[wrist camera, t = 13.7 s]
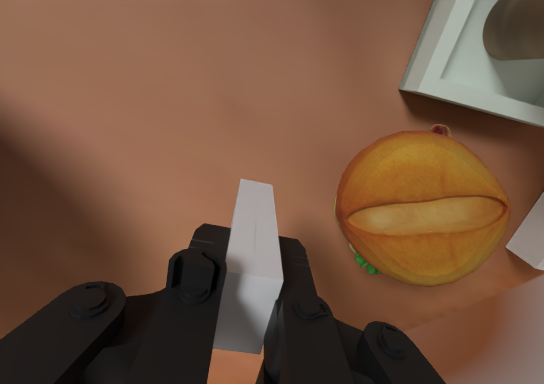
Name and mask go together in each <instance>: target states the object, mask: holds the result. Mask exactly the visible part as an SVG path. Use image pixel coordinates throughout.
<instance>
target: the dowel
mask: <svg viewBox="0 0 544 384" xmlns="http://www.w3.org/2000/svg"><path fill="white" fill-rule="evenodd" d="M482 36H483V44H484V47H485V49H486V51H487V53H488V54H489V55H490V56H491V57H493V58H495V59H497V60H504V61H506V60H527V59H544V0H498V1H497V2H496V3H495V5H494V6H493V7H492V9H491V10H490V12H489V14H488V16H487V18H486V20H485V24H484V27H483V35H482Z"/></svg>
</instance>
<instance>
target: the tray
mask: <svg viewBox="0 0 544 384" xmlns="http://www.w3.org/2000/svg"><path fill="white" fill-rule="evenodd" d="M497 1H498V0H434V1H433V4H432V6H431V9H430V11H429V14H428V16H427V19H426V21H425V24H424V26H423V29H422V31H421V34H420V36H419V39H418V41H417V44H416V46H415V49H414V51H413V54H412V56H411V59H410V61H409V64H408V66H407V69H406V71H405V74H404V76H403V79H402V82H401V84H400V87H399V89H400V90H404V91H407V92H411V93H415V94H418V95H422V96H426V97H429V98H433V99H437V100H440V101H444V102H448V103H451V104H455V105H459V106H462V107H466V108H470V109H473V110H477V111H481V112H484V113H488V114H492V115H495V116H499V117H503V118H506V119H510V120H514V121H517V122H521V123H525V124H528V125H534V126H539V127H544V59H527V60H506V61H504V60H497V59H495V58H493V57H491V56H490V55H489V54H488V53H487V51H486V49H485V47H484V44H483V36H482V35H483V27H484V24H485V20H486V18H487V16H488V14H489V12H490V10H491V9H492V7H493V6H494V5H495V3H496V2H497Z"/></svg>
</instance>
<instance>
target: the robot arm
mask: <svg viewBox="0 0 544 384" xmlns="http://www.w3.org/2000/svg"><path fill="white" fill-rule="evenodd" d="M263 343H264V359H263V362H262V365H261V368H260V371H259V374H258V377H257V380H256V383H255V384H446V383H445V382H444V381H443V379H442V378H441V377H440V376H439V374H438V373H437V372H436V371H435V369H434V368H433V367H432V365H431V364H430V363H429V362H428V361H427V359H426V358H425V357H424V355H422V353H421V352H420V351H419V349H418V348H417V347H416V345H415V344H414V343H413V342H412V341H411V340H410V339H409V338H408V337H407V336H406V335H405V334H404V333H403V332H402V331H400V330H399V329H397V328H396V327H394V326H392V325H390V324H387V323H385V322H378V321H374V322H371V323H368V325H367V326H366V328H365V329H364V331H362V330H359V329H357V328H354V327H352V326H350V325H347V324H345V323H343V322H341V321H339V320H337V319H335V318H334V317H333V314H332V312H331V310H330V308H329V306H328V304H327V303H326V302H325V301H324V300H323V299H322V298H320V297H318V296H317V293H316V289H315V285H314V281H313V277H312V274H311V270H310V267H309V262H308V259H307V255H306V251H305V248H304V247H303V246H302V244H301V243H300V242H299V241H298V240H297V239H292V238H287V237H282V236H278V230H277V222H276V213H275V205H274V196H273V188H272V185H269V184H265V183H260V182H255V181H250V180H245V179H241V181H240V186H239V190H238V195H237V200H236V205H235V209H234V214H233V219H232V224H231V228H227V227H222V226H216V225H211V224H206V223H204V224H203V225H201V226H200V227H199V228H197V229H196V230H195V233H194V235H193V237H192V240H191V242H190V245H189V248H188V249H184V250H181V251H179V252H177V253H175V254H174V255H173V256H172V257H171V259H170V260H169V265H168V274H167V283H166V288H164V289H162V290H160V291H158V292H155V293H151V294H146V295H138V296H128V297H126V295H125V293H124V292H123V290H122V288H120V287H118V286H117V285H115V284H113V283H108V282H102V281H100V282H88V283H85V284H81V285H78V286H75V287H73V288H71V289H69V290H67V291H66V292H64V293H62V294H61V295H59V296H58V297H57V298H55V299H54V300H53V301H51V302H50V303H49V304H47V305H46V306H45V307H43V308H42V309H41V310H39V311H38V312H37V313H35V314H34V315H33V316H31V317H30V318H29V319H27V320H26V321H25V322H23V323H22V324H21V325H19V326H18V327H17V328H15V329H14V330H13V331H11V332H10V333H9V334H7V335H6V336H5V337H3V338H2V339H1V340H0V384H207V379H208V373H209V367H210V361H211V355H212V349H221V350H229V351H237V352H245V353H253V354H260V352H261V349H262V346H263Z"/></svg>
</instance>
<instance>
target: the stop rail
mask: <svg viewBox="0 0 544 384" xmlns="http://www.w3.org/2000/svg"><path fill="white" fill-rule="evenodd" d="M505 247H506V248H507V249H509V250H510V251H512V252H513V253H514V254H516V255H517V256H518V257H520V258H521V259H523V260H524V261H525V262H527V263H528V264H530V265H531V266H532V267H534V268H535V269H540V270H544V192H543V193H542V194H541V196H540V197H539V199H538V200H537V202H536V203H535V205H534V206H533V207H532V209H531V210H530V212H529V213H528V215H527V216H526V218H525V219H524V220H523V222H522V223H521V225H520V226H519V228H518V229H517V231H516V232H515V233H514V235H513V236H512V238H511V239H510V241H509V242H508V244H507V245H506V246H505Z"/></svg>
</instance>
